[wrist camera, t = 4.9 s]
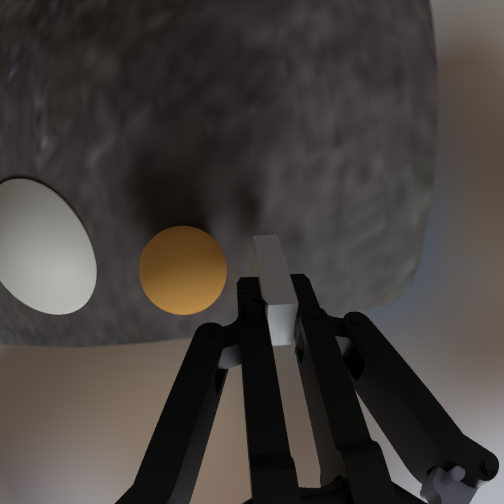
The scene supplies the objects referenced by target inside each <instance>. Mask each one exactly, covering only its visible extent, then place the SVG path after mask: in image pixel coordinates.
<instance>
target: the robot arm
mask: <svg viewBox="0 0 504 504" xmlns="http://www.w3.org/2000/svg"><path fill="white" fill-rule="evenodd" d="M253 256H254V277H241V278H240V279H239V281H238V282H237V298H238V318H237V320H236V321H235V322H233V323H232V324H230V325H227V326H224V327H222V326H221V325H220V324H217V323H205V324H202V325H201V326H199V327H198V329H197V330H196V332H195V334H194V337H193V339H192V341H191V344H190V346H189V348H188V351H187V353H186V355H185V358H184V360H183V363H182V365H181V367H180V370H179V372H178V374H177V377H176V379H175V382H174V384H173V386H172V389H171V392H170V394H169V396H168V399H167V401H166V403H165V406H164V408H163V411H162V413H161V416H160V418H159V421H158V423H157V426H156V428H155V431H154V433H153V435H152V438H151V440H150V443H149V446H148V448H147V450H146V453H145V456H144V458H143V461H142V463H141V466H140V468H139V471H138V473H137V476H136V478H135V481H134V484H133V485H132V486H131V488H129V489H128V490H127V492H126V493H125V494H124V495H123V496H122V497H121V498H120V499H119V500H118V501H117V502H116V503H115V504H189V503H190V500H191V497H192V493H193V490H194V487H195V483H196V480H197V477H198V473H199V470H200V466H201V463H202V460H203V456H204V453H205V449H206V446H207V442H208V439H209V435H210V432H211V429H212V425H213V421H214V418H215V415H216V411H217V408H218V404H219V401H220V397H221V394H222V390H223V387H224V383H225V380H226V376H227V373H228V368H230V367H234V366H237V365H240V364H241V366H242V380H243V394H244V407H245V421H246V434H247V445H248V458H249V470H250V482H251V494H252V498H250V499H249V500H247V501H246V502H244V503H243V504H427V503H426V502H424V501H422V500H421V499H419V498H417V497H416V496H414V495H412V494H411V493H409V492H408V491H406V490H405V489H403V488H401V487H400V486H398V485H397V484H395V483H394V482H392V481H391V478H390V475H389V471H388V468H387V465H386V462H385V459H384V456H383V452H382V449H381V447H380V445H379V444H378V443H377V442H375V441H373V440H372V439H371V437H370V434H369V431H368V428H367V425H366V422H365V419H364V416H363V413H362V410H361V407H360V404H359V401H358V398H357V395H356V392H357V394H358V395H359V396H360V398H361V399H362V401H363V403H364V404H365V405H366V407H367V408H368V410H369V412H370V413H371V414H372V416H373V418H374V419H375V421H376V422H377V423H378V425H379V427H380V428H381V430H382V431H383V433H384V434H385V436H386V437H387V439H388V440H389V442H390V443H391V445H392V446H393V448H394V449H395V451H396V452H397V454H398V455H399V457H400V458H401V460H402V461H403V463H404V464H405V466H406V467H407V469H408V470H409V471H410V473H411V474H412V475H413V476H414V477H415V478H416V479H417V480H418V481H419V482H420V483H422V489H421V491H420V495H421V497H422V498H424V499H426V500H427V501H428V504H469V503H470V501H471V500H472V498H473V496H474V494H475V493H476V491H477V489H478V488H479V487H480V486H482V485H483V484H485V483H487V482H488V481H490V480H492V479H493V478H494V477H495V476H496V474H497V473H498V469H499V461H498V459H497V457H496V456H495V455H494V454H493V453H492V452H490V451H488V450H487V449H485V448H484V447H482V446H481V445H479V444H478V443H476V442H474V441H473V440H472V439H470V438H468V437H467V436H465V435H464V434H463V433H462V432H461V431H460V429H459V428H458V427H457V425H456V424H455V423H454V421H453V420H452V419H451V417H449V415H448V414H447V412H446V411H445V410H444V408H443V407H442V406H441V405H440V403H439V402H438V401H437V400H436V398H435V397H434V396H433V395H432V393H431V392H430V391H429V390H428V388H427V387H426V386H425V385H424V383H423V382H422V381H421V380H420V379H419V377H418V376H417V375H416V374H415V372H414V371H413V370H412V369H411V368H410V366H409V365H408V364H407V363H406V362H405V360H404V359H403V358H402V357H401V356H400V354H399V353H398V352H397V351H396V350H395V348H394V347H393V346H392V345H391V344H390V343H389V341H388V340H387V339H386V338H385V337H384V336H383V334H382V333H381V332H380V331H379V330H378V329H377V327H376V326H375V325H374V324H373V323H372V322H371V321H370V319H369V318H368V317H367V316H366V315H364V314H362V313H360V312H349V313H347V314H346V315H345V316H344V318H337V317H332V316H329V315H327V313H326V312H325V310H323V309H322V308H320V306H319V304H318V301H317V298H316V296H315V293H314V291H313V288H312V286H311V283H310V280H309V278H308V277H306V276H305V275H304V274H289V271H288V268H287V264H286V261H285V258H284V255H283V252H282V248H281V245H280V242H279V239H278V236H277V235H267V236H253ZM294 338H295V343H296V347H295V354H294V362H295V361H296V358H297V363H298V367H299V371H300V376H301V380H302V385H303V389H304V394H305V398H306V402H307V406H308V412H309V417H310V421H311V425H312V430H313V435H314V440H315V444H316V449H317V454H318V459H319V464H320V469H321V470H320V471H321V473H320V484H321V488H302V487H299V486H298V481H297V474H296V469H295V463H294V460H293V458H292V457H291V454H290V449H289V443H288V437H287V431H286V425H285V419H284V413H283V407H282V401H281V396H280V389H279V384H278V377H277V371H276V365H275V359H274V354H273V347H272V346H276V345H287V344H293V342H294ZM355 391H356V392H355Z"/></svg>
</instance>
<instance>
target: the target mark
mask: <svg viewBox="0 0 504 504" xmlns="http://www.w3.org/2000/svg"><path fill="white" fill-rule="evenodd" d="M96 278H97V265H96V258H95V253H94V249H93V246H92V243H91V240H90V238H89V236H88V233H87V231H86V229H85V227H84V226H83V224H82V222H81V220H80V219H79V217H78V216H77V215H76V213H75V212H74V210H73V209H72V208H71V207H70V206H69V205H68V203H67V202H66V201H65V200H64V199H62V198H61V197H60V196H59V195H58V194H57V193H55V192H54V191H53V190H52V189H50V188H48V187H47V186H45V185H43V184H41V183H39V182H36V181H33V180H29V179H19V178H18V179H11V180H8V181H6V182H3V183H2V184H0V281H1V282H2V284H3V285H4V286H5V287H6V288H7V289H8V290H9V292H11V293H12V294H13V295H14V296H15V297H16V298H18V299H19V300H20V301H22V302H23V303H25V304H26V305H28V306H30V307H32V308H34V309H36V310H39V311H41V312H45V313H49V314H68V313H71V312H74V311H76V310H78V309H80V308H81V307H82V306H84V305H85V304H86V302H87V301H88V300H89V298H90V297H91V295H92V293H93V290H94V288H95V284H96Z"/></svg>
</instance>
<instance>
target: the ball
mask: <svg viewBox="0 0 504 504" xmlns="http://www.w3.org/2000/svg"><path fill="white" fill-rule="evenodd" d="M226 276H227V265H226V260H225V256H224V254H223V251H222V249H221V247H220V246H219V245H218V243H217V242H216V241H215V240H214V239H213V238H212V237H211V236H210V235H209V234H207V233H206V232H204V231H202V230H200V229H198V228H195V227H191V226H174V227H170V228H168V229H165V230H163V231H161V232H159V233H158V234H156V235H155V236H154V237H153V238H152V239H151V240H150V241H149V242H148V244H147V245H146V247H145V248H144V250H143V252H142V255H141V258H140V263H139V277H140V281H141V285H142V287H143V290H144V292H145V293H146V295H147V296H148V298H149V299H150V300H151V301H152V302H153V303H154V304H155V305H156V306H158V307H159V308H161V309H163V310H165V311H167V312H170V313H173V314H180V315H187V314H193V313H197V312H199V311H202V310H204V309H206V308H207V307H208V306H210V305H211V304H212V303H213V302H214V301H215V300H216V299H217V298H218V296H219V295H220V293H221V292H222V290H223V287H224V284H225V281H226Z"/></svg>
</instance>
